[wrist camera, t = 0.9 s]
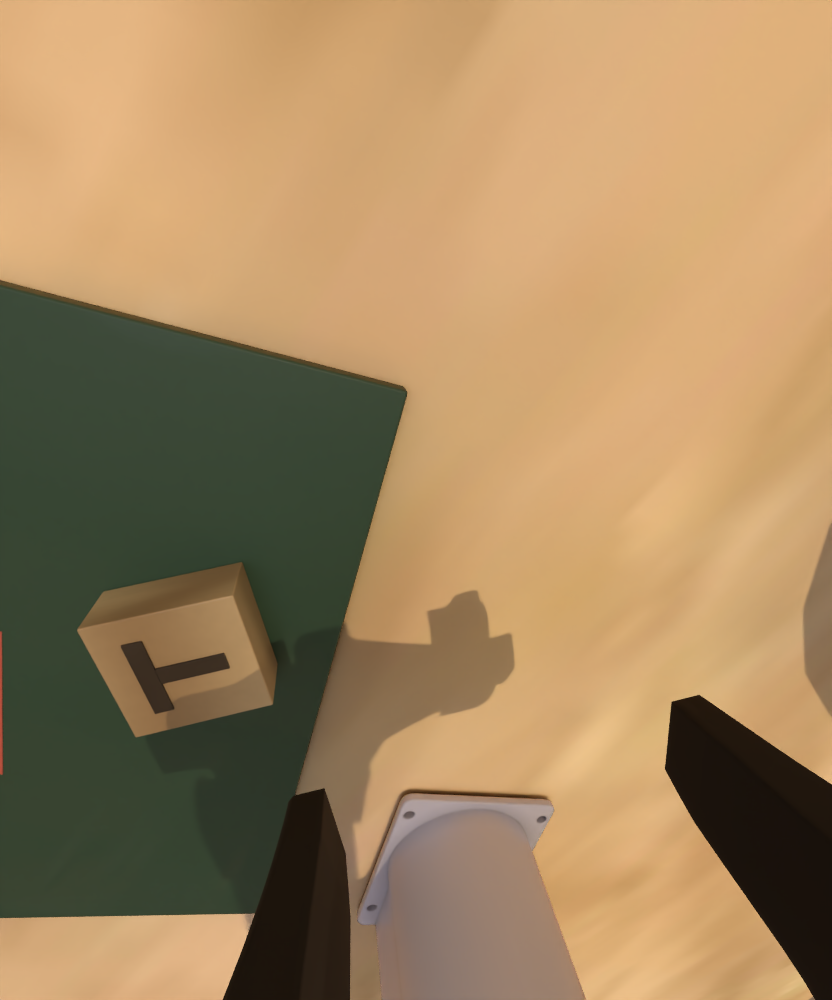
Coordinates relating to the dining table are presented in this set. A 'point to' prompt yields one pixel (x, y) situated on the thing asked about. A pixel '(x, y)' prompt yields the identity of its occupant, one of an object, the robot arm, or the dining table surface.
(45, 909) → the game board
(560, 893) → the dining table surface
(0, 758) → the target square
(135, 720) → the letter tile
